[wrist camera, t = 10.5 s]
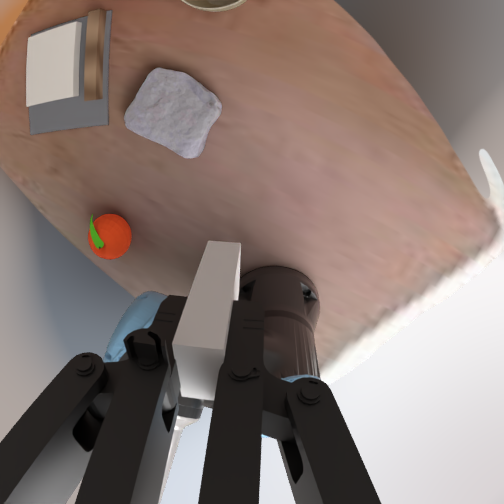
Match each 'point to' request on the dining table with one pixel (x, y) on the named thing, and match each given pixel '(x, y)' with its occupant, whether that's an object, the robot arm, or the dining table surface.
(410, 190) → the dining table surface
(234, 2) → the flower pot
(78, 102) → the mat
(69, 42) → the tile
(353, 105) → the dining table surface
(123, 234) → the clementine
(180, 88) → the stone block
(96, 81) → the strip
